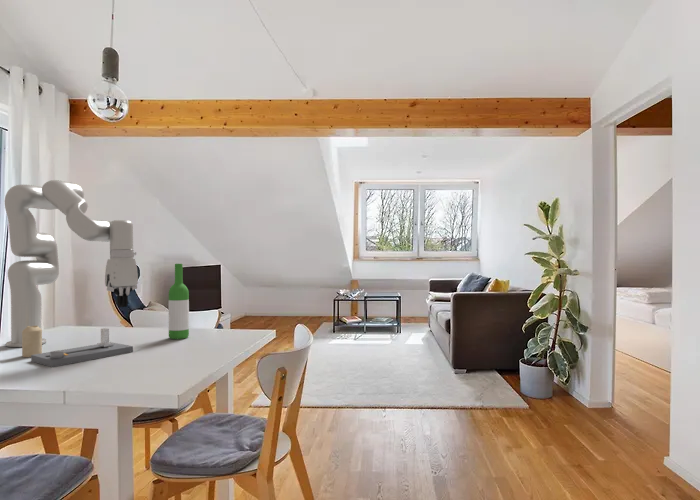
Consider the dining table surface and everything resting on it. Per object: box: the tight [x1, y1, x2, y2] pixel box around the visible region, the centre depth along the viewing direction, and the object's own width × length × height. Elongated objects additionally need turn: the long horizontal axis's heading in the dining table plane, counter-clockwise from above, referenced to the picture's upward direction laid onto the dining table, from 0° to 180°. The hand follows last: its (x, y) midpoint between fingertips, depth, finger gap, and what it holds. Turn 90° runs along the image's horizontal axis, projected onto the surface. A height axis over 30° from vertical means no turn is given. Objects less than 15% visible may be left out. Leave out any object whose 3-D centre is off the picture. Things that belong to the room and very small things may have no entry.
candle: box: [21, 326, 43, 358], centre depth 160 cm, size 6×6×10 cm
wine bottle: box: [168, 263, 190, 340], centre depth 193 cm, size 8×8×30 cm
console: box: [30, 341, 134, 368], centre depth 159 cm, size 14×26×4 cm, turn 146°
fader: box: [96, 327, 114, 347], centre depth 165 cm, size 4×3×6 cm
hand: (122, 306), depth 169 cm, fingers closed
